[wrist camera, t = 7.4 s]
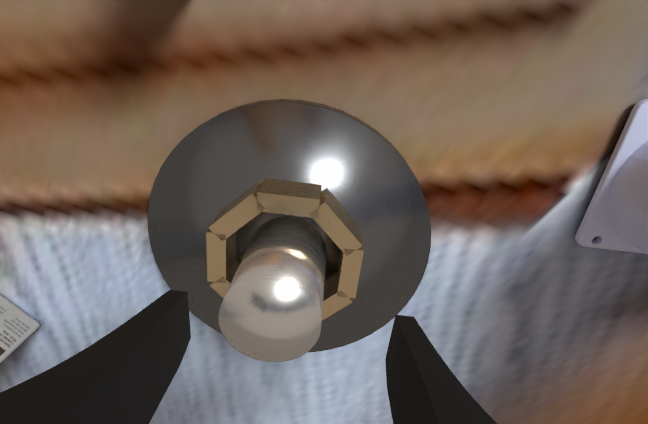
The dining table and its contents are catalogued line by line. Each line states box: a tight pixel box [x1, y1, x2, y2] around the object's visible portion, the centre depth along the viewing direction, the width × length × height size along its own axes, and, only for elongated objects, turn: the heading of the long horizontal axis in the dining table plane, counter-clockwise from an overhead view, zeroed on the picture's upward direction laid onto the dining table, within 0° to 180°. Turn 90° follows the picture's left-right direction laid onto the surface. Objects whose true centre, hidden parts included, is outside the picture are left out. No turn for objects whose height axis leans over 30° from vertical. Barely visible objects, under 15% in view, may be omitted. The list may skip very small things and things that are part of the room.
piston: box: [218, 217, 326, 362], centre depth 19 cm, size 4×4×6 cm
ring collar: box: [148, 99, 431, 352], centre depth 21 cm, size 16×16×3 cm
